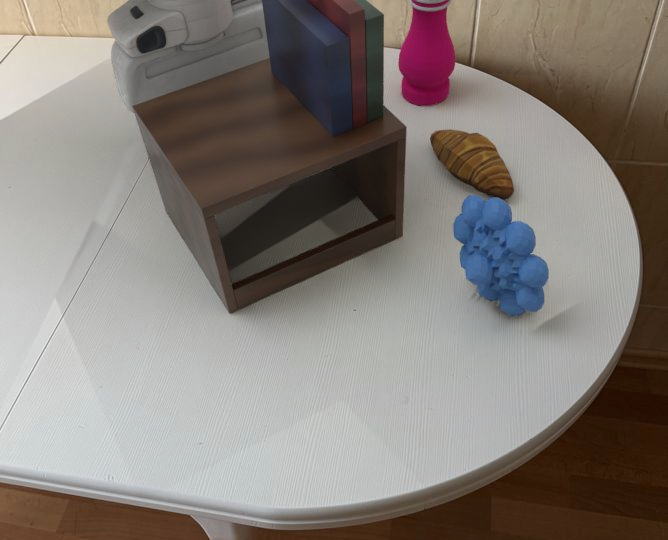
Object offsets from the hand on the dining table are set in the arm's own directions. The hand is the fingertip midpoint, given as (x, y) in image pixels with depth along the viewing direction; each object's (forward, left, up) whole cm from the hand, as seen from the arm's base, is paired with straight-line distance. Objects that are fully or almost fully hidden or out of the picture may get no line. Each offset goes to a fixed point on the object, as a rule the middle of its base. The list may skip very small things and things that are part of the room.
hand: (214, 116), depth 87 cm
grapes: (+33, -24, -4) cm, 41 cm away
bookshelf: (+10, -14, -3) cm, 18 cm away
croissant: (+31, -4, -4) cm, 32 cm away
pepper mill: (+25, +12, -4) cm, 28 cm away
